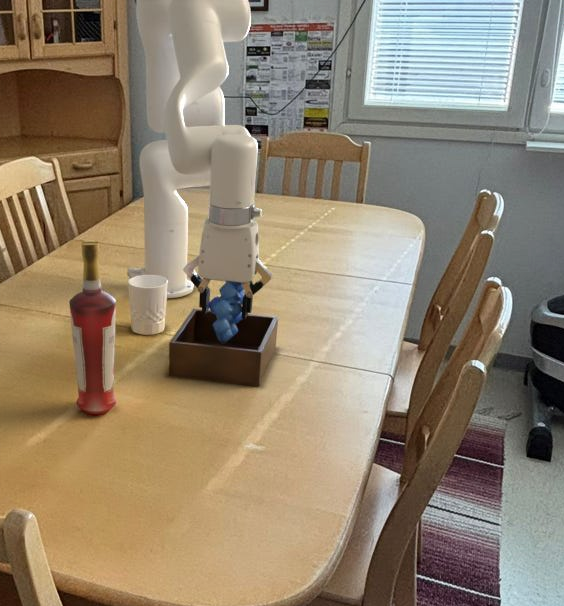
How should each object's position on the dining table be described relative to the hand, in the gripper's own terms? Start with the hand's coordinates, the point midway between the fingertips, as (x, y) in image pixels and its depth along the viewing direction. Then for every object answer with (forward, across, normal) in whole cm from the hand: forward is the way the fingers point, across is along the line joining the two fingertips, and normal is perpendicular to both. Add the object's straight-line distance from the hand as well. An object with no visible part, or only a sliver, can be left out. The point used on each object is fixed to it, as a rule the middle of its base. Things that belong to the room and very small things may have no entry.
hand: (225, 313), depth 156 cm
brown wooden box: (+9, 0, +1) cm, 9 cm away
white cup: (+10, +18, -11) cm, 24 cm away
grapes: (+5, 0, 0) cm, 5 cm away
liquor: (+9, +16, +26) cm, 32 cm away
